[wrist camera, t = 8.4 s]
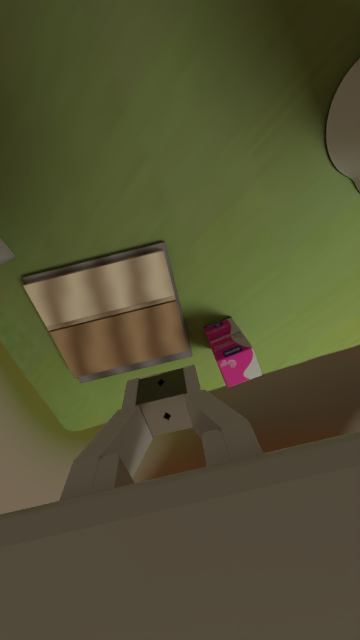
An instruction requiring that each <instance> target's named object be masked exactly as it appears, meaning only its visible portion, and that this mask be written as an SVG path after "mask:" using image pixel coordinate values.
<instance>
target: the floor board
mask: <svg viewBox="0 0 360 640" xmlns="http://www.w3.org/2000/svg"><path fill="white" fill-rule="evenodd" d="M22 279H23V280H24V282H25V284H26V285H24V288H25V290H26V292H27V294H28V295H29V297H30V299H31V301H32V302H33V304H34V306H35V308H36V309H37V311H38V313H39V315H40V316H41V318H42V320H43V322H44V324H45V325H46V328H47V330H48V331H49V330H53V329H58V328H62V327H66V326H70V325H74V324H78V323H82V322H86V321H90V320H94V319H98V318H102V317H106V316H110V315H114V314H118V313H122V312H126V311H131V310H135V309H139V308H143V307H147V306H151V305H155V304H159V303H163V302H167V301H171V300H175V299H176V303H177V307H178V310H179V314H180V318H181V322H182V326H183V330H184V334H185V338H186V342H187V347H188V351H184V352H180V353H176V354H172V355H167V356H163V357H159V358H155V359H151V360H147V361H143V362H139V363H135V364H130V365H126V366H122V367H118V368H114V369H110V370H106V371H102V372H97V373H93V374H89V375H85V376H81V377H78V379H79V381H80V382H81V383H84V382H88V381H92V380H96V379H100V378H104V377H108V376H112V375H117V374H121V373H125V372H129V371H133V370H137V369H141V368H145V367H150V366H154V365H158V364H162V363H166V362H170V361H174V360H178V359H183V358H187V357H191V356H192V352H191V348H190V344H189V340H188V336H187V331H186V327H185V323H184V319H183V315H182V311H181V307H180V303H179V299H178V295H177V290H176V286H175V282H174V278H173V274H172V270H171V266H170V262H169V258H168V254H167V249H166V245H165V242H161V243H157V244H153V245H149V246H145V247H141V248H137V249H133V250H129V251H125V252H121V253H117V254H113V255H109V256H105V257H101V258H97V259H93V260H89V261H85V262H81V263H77V264H73V265H69V266H65V267H61V268H57V269H53V270H49V271H45V272H41V273H37V274H33V275H29V276H25V277H23V278H22Z"/></svg>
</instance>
